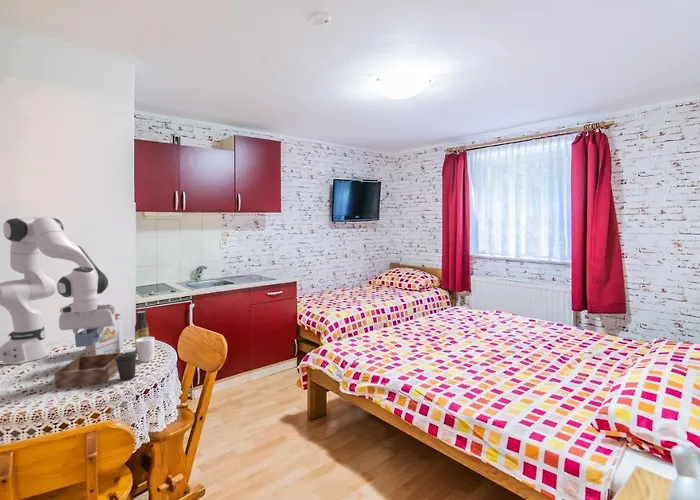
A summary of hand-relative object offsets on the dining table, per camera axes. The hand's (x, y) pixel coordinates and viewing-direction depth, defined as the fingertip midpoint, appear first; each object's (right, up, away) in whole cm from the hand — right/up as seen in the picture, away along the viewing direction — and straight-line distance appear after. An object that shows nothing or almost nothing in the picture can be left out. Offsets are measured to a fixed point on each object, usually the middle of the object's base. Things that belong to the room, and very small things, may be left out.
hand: (89, 338), depth 163 cm
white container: (-15, -14, +37) cm, 42 cm away
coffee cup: (+18, -16, -2) cm, 24 cm away
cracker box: (-7, -15, +20) cm, 26 cm away
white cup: (+14, -15, +19) cm, 28 cm away
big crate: (0, -16, +1) cm, 16 cm away
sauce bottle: (+5, -14, +33) cm, 36 cm away
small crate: (0, -2, 0) cm, 2 cm away
